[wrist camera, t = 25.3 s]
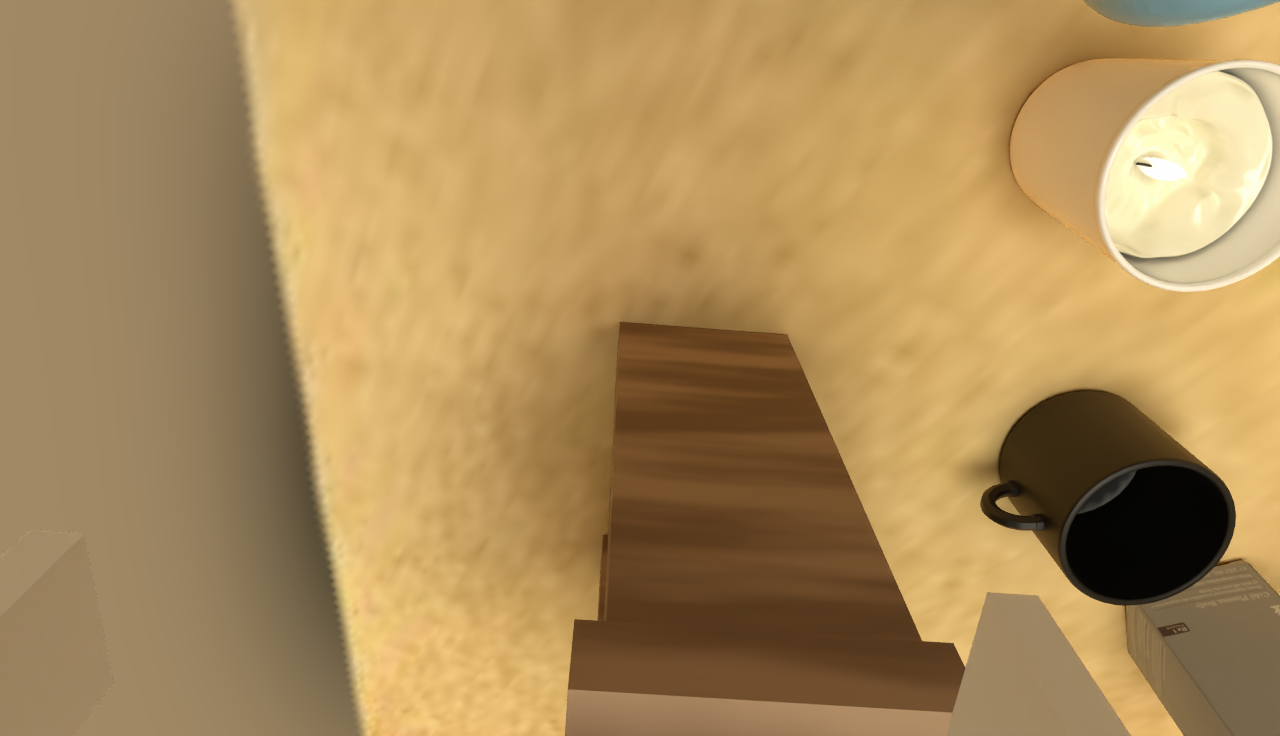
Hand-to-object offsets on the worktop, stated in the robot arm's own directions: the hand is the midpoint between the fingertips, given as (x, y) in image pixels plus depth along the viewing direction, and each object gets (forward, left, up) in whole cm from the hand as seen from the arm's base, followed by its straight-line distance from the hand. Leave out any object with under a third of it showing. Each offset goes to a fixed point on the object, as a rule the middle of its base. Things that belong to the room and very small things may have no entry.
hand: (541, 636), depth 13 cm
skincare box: (+34, +36, -39) cm, 63 cm away
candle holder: (+1, +26, -39) cm, 47 cm away
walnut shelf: (+19, +3, -39) cm, 43 cm away
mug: (+21, +26, -39) cm, 51 cm away
